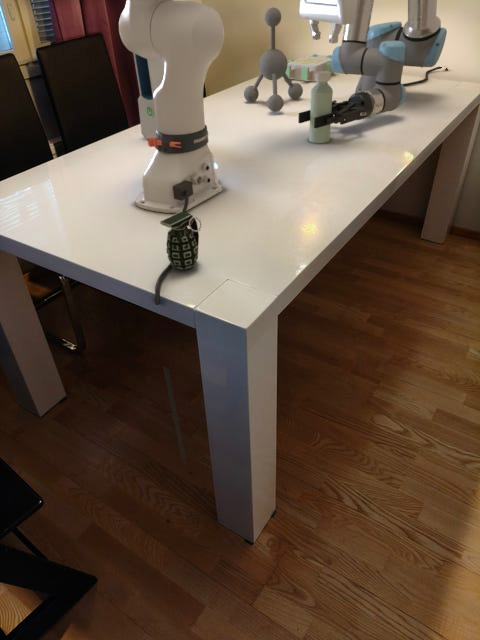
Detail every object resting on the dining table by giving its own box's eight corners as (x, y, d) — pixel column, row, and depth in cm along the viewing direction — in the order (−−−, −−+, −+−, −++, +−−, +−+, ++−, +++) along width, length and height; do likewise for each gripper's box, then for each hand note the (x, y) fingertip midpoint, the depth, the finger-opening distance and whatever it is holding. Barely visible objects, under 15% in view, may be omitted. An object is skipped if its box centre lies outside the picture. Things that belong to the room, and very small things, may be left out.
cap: (332, 79, 135) (333, 71, 134) (325, 82, 132) (325, 74, 131) (319, 77, 137) (319, 70, 136) (312, 80, 134) (312, 73, 133)
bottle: (333, 138, 145) (337, 72, 134) (323, 144, 141) (327, 77, 130) (315, 135, 148) (318, 70, 137) (305, 141, 144) (307, 75, 133)
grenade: (182, 278, 88) (175, 228, 82) (162, 268, 91) (153, 219, 85) (208, 263, 92) (203, 214, 85) (187, 253, 95) (181, 205, 89)
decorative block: (305, 52, 220) (345, 55, 211) (304, 68, 224) (344, 71, 215) (274, 63, 204) (317, 66, 195) (274, 80, 208) (316, 84, 199)
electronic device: (141, 137, 154) (123, 28, 136) (159, 131, 158) (144, 24, 140) (166, 145, 147) (151, 30, 129) (185, 138, 151) (172, 26, 133)
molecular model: (322, 103, 175) (328, 5, 157) (274, 116, 166) (273, 12, 147) (282, 92, 191) (282, 1, 172) (235, 103, 181) (230, 8, 163)
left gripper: (294, -23, 127) (293, 38, 135) (342, -21, 112) (337, 47, 121) (314, -25, 129) (312, 35, 137) (364, -23, 114) (358, 44, 123)
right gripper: (386, 124, 144) (329, 141, 134) (341, 111, 157) (285, 126, 147) (390, 97, 140) (331, 113, 130) (343, 86, 152) (285, 100, 142)
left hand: (324, 41), depth 129 cm, fingers open, 6 cm apart
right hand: (307, 120), depth 138 cm, fingers closed on bottle, 6 cm apart
